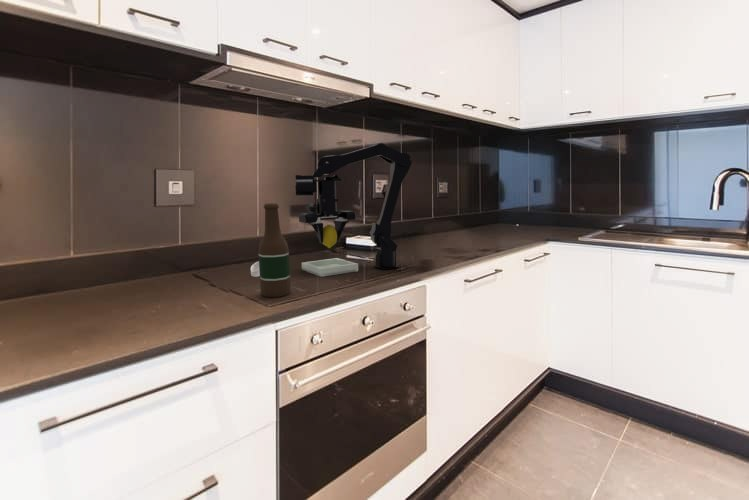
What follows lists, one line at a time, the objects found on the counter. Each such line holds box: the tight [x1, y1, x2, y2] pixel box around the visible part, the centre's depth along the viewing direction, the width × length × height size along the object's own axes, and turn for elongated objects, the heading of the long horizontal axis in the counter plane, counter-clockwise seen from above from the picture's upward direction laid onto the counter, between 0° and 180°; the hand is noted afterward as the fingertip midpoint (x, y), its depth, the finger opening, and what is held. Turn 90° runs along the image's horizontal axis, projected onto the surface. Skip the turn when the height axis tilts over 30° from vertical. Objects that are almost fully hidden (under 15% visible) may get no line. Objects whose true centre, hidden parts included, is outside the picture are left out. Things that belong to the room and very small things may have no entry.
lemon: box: [322, 224, 337, 249], centre depth 136 cm, size 6×6×8 cm
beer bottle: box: [258, 202, 292, 298], centre depth 107 cm, size 8×8×24 cm
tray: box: [301, 257, 359, 278], centre depth 138 cm, size 14×14×2 cm
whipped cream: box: [250, 260, 260, 278], centre depth 132 cm, size 8×7×5 cm
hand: (329, 242), depth 136 cm, fingers closed on lemon, 5 cm apart
